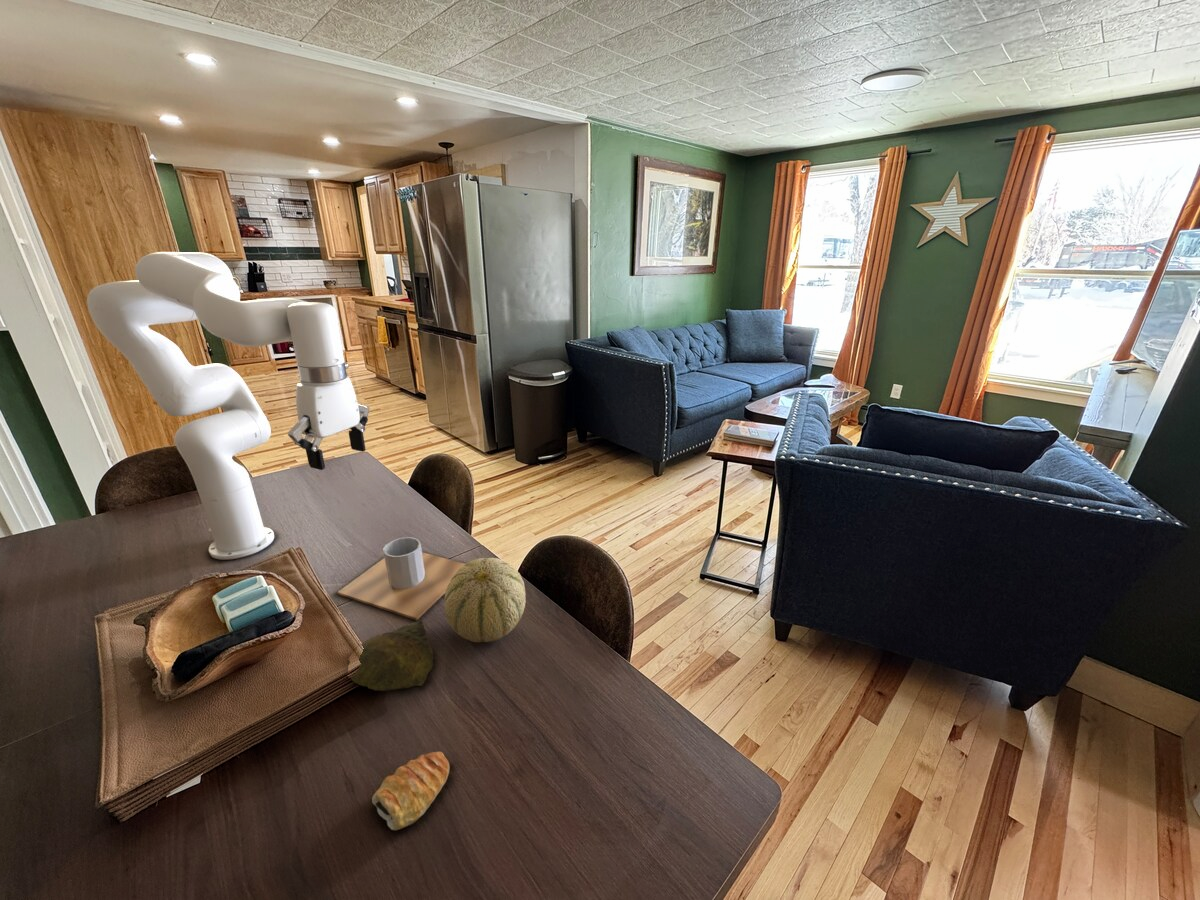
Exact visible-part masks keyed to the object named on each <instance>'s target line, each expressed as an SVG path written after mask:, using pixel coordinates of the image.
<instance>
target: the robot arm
mask: <svg viewBox="0 0 1200 900" xmlns="http://www.w3.org/2000/svg"><path fill="white" fill-rule="evenodd" d="M134 273H135V277H136V279H137V280H121V281H112V282H105V283H102V284H99V285H97V286H94V287H93V288H91V290H90V291H89V292H88V293H87V298H86V303H87V309H88V313H89V315H90V318H91V319H92V322H93V323H94V325H95V327H96V328H97V329H98V331H99V332H100V333H101V334H102V336H103V337H104V338H105V339H106V340H107V341H108V342H109V343H110V344H111V345H112V346H113V347H114V348H116V349H117V351H119V353H121V354H122V356H124V358H126V360H127V361H128V362H129V364H130V365H131V366H132V368H133V370H134V371H135V373H136V374H137V375H138V377H139V378H140V380H141V381H142V383H143V385H144V386H145V388H146V389H147V390H148V392H149V393H150V395H151V396H152V398H153V399H154V400H155V401H156V403H157V404H158V406H159V408H160V409H161V410H162V411H164V413H165V414H167V415H169V416H172V417H186V416H191V415H195V414H199V413H203V412H207V411H210V410H213V409H218V408H220V409H222V411H223V412H219V413H214V414H211V415H207V416H204V417H201V418H197V419H193V420H191V421H189V422H187V423H185V424H183V425H182V426H180V427H179V428H178V429H177V430H176V432H175V433H174V436H173V440H174V445H175V447H176V449H177V451H178V453H179V454H180V456H181V457H182V459H183V461H184V463H185V464H186V466H187V468H188V470H189V472H190V475H191V477H192V479H193V482H194V484H195V487H196V490H197V493H198V496H199V499H200V502H201V505H202V508H203V510H204V511H203V512H204V514H205V517H206V520H207V523H208V526H209V528H208V530H207V532H208V533H210V534H211V535H212V537H213V541H212V543H211V544H210V545H209V547H208V553H209V555H210V557H212V558H213V559H216V560H222V561H223V560H225V561H226V560H228V561H229V560H236V559H241V558H245V557H248V556H251V555H254V554H256V553H258V552H260V551H262V550H264V549H265V548H267V547H269V546H270V545H271V544H272V543H273V541H274V539H275V533H274V531H273V530H272V529H271V528H269V527H266V526H265V525H264V523H263V519H262V516H261V512H260V508H259V506H258V502H257V498H256V495H255V491H254V487H253V484H252V480H251V478H250V475H249V472H248V470H247V469H246V468H245V467H244V466H243V465H241V464H239V463H238V462H236V461H235V460H234V459H233V457H235V456H236V455H239V454H240V453H243V452H246V451H249V450H251V449H254V448H256V447H260V446H262V445H263V444H266V443H267V442H268V441H269V439H270V437H271V435H272V429H271V424H270V422H269V420H268V418H267V416H266V415H265V413H264V411H263V409H262V408H261V406H260V405H259V403H258V402H257V400H256V397H255V396H254V394H253V393H252V391H251V390H250V388H249V387H248V385H247V383H246V381H244V378H242V376H241V375H240V374H239V373H238V372H237V371H236V370H235V369H233V368H232V367H231V366H228V365H227V364H223V363H208V364H202V365H201V364H200V365H197V366H194V365H193V364H191V363H190V361H188V359H187V358H186V356H185V354H184V352H183V351H182V349H181V348H180V347H179V346H178V345H177V344H176V343H175V342H174V341H172V340H170V338H168V337H166V336H165V335H163V334H162V333H159V332H157V331H155V330H153V329H152V328H150V327H149V326H153V325H154V326H155V325H163V324H164V325H165V324H175V323H184V322H192V321H197V320H198V321H199V323H200V324H201V325H202V326H203V328H204V329H206V331H207V332H209V333H210V334H211V335H213V336H215V337H217V338H219V339H222V340H225V341H226V342H228V343H229V342H230V343H232V344H235V345H238V346H242V347H249V348H257V347H258V348H259V347H264V346H269V345H275V344H281V343H287V342H288V343H289V342H292V346H293V352H294V356H295V362H296V365H297V370H298V375H299V380H300V382H299V383H297V384H296V391H295V403H296V412H297V413H296V414H297V422H296V424H294V426H292V427H291V429H290V430H288V431H287V436H288V437H289V438H290V439H291V440H292V442H294V444H295V445H296V446H298V447H300V448H301V449H303V450H305V454H306V458H307V462H308V465H309V467H310V468H312V469H316V470H319V471H322V470H325V469H326V464H325V459H324V454H323V451H322V449H320V448H319V447H320V445H321V444H322V441H323V439H325V438H327V437H331V436H333V435H336V434H339V433H341V432H344V431H346V430H348V437H349V444H350V448H351V450H353V451H358V452H365V451H366V443H365V437H364V432H366V425H367V424H368V421H369V418H368V417H369V414H370V407H369V406H367V405H362V404H359V402H358V399H357V396H356V395H357V394H356V391H355V389H354V386H353V384H352V381H351V379H350V377H349V376H348V375H347V369H348V368H349V363H348V362H347V361H345V355H344V351H343V345H342V339H341V338H342V337H341V333H340V326H339V321H338V315H337V314H338V313H337V310H336V309H335V307H334V306H333V305H331V304H329V303H328V302H327V303H326V302H318V301H306V300H303V299H299V298H295V297H294V298H293V297H280V298H279V297H278V298H265V299H252V300H241V291H240V287H239V286H238V284H237V282H236V281H235V280H234V276H233V273H232V271H231V269H230V268H229V266H228V265H227V264H226V263H225V262H224V261H223V260H222V259H220V258H219V257H217V256H215V255H213V254H210V253H206V252H191V251H190V252H189V251H188V252H181V251H180V252H179V251H178V252H177V251H157V252H152V253H149V254H146V255H143V256H142V257H141V258H139V260H137V262H136V264H135V268H134ZM349 429H350V430H349ZM303 435H305V436H303Z"/></svg>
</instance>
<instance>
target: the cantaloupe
mask: <svg viewBox="0 0 1200 900" xmlns="http://www.w3.org/2000/svg"><path fill="white" fill-rule="evenodd" d="M464 564H465V565H464V566H463V567H461V568H460V569H459V570H458V571H457V572H456V574H455V575H454V576H453V578H452V579H451V581H450V583H449V584H448V586H447V589H446V593H445V594H444V601H443V603H444V615H445V619H446V621H447V623H448V624H449V626H450V628H451V630H452V631H453V632H454V633H456V634H457V635H459V636H460V637H461V638H463V639H465V640H467V641H470V642H473V643H482V642H484V643H488V642H495V641H497V640H501V638H504V637H506V636H507V635H509V633H511V632H512V631H513V630H514V629H515V628H516V626H517V625H518V623H519V622H520V620H521V618H522V617H523V614H524V612H525V608H526V603H527V602H526V601H527V600H526V599H527V597H526V587H525V582H524V580H523V577H522V575H521V573H520V572H519V571H518V570H517V568H515V567H514V566H513V565H512V564H510V563H509V562H507V561H505V560H503V559H500V558H497V557H480V558H476V559H472V560H470V561H469V562H466V563H464Z"/></svg>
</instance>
